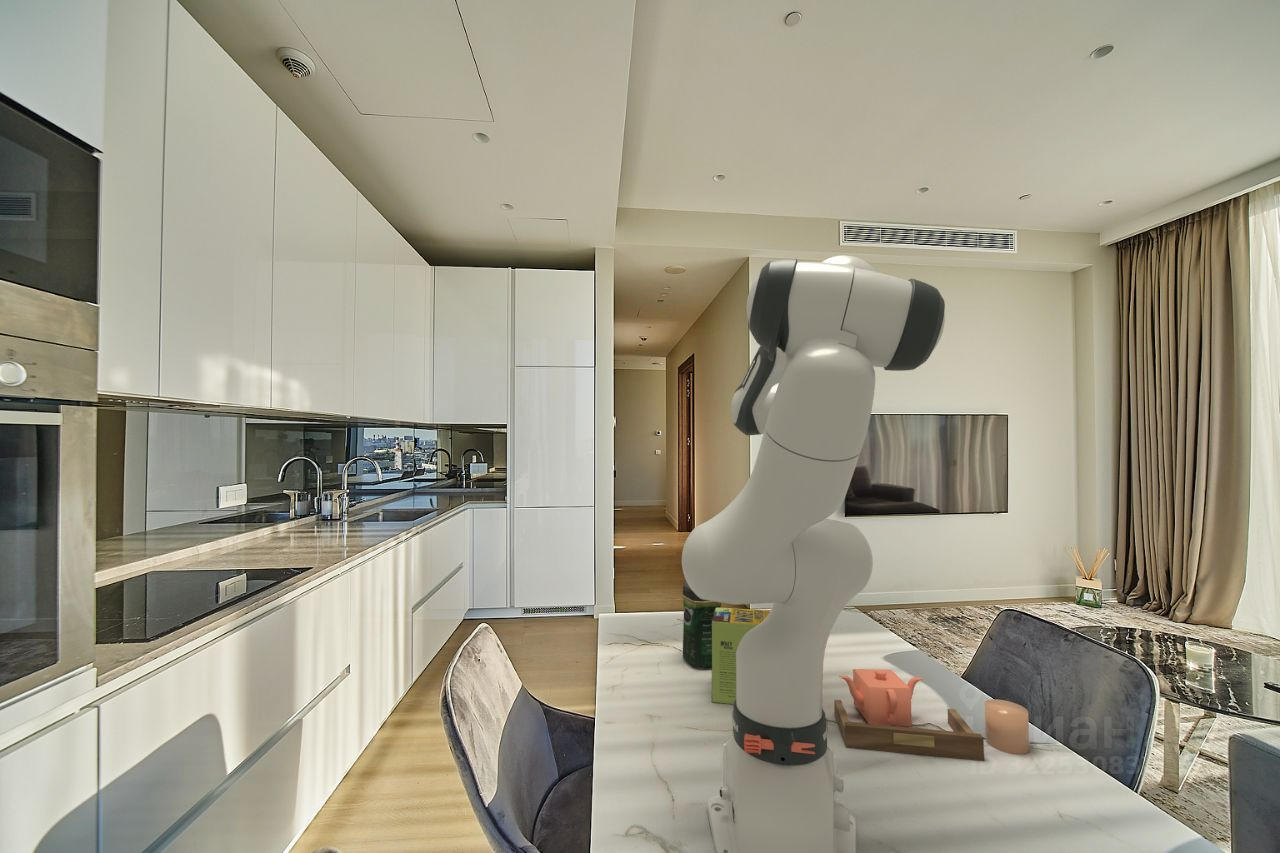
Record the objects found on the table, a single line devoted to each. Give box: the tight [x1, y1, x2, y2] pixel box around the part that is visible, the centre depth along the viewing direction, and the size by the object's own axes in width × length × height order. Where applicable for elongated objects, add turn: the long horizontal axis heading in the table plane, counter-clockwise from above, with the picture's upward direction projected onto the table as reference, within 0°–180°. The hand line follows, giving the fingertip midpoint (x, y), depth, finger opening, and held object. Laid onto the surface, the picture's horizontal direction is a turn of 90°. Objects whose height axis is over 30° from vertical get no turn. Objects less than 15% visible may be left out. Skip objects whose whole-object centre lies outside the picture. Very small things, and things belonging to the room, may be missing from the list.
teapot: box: [838, 668, 924, 728], centre depth 99 cm, size 12×15×8 cm
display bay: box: [833, 699, 985, 762], centre depth 92 cm, size 12×20×4 cm, turn 79°
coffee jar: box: [682, 580, 722, 670], centre depth 125 cm, size 10×8×19 cm
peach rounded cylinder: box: [983, 698, 1031, 756], centre depth 90 cm, size 6×6×6 cm
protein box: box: [711, 607, 771, 705], centre depth 108 cm, size 10×15×16 cm
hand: (795, 521), depth 109 cm, fingers closed
